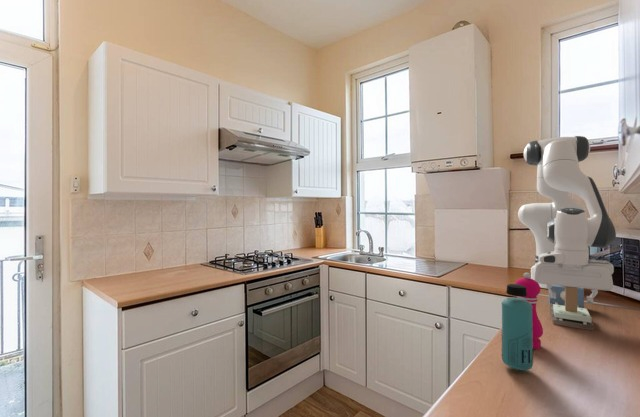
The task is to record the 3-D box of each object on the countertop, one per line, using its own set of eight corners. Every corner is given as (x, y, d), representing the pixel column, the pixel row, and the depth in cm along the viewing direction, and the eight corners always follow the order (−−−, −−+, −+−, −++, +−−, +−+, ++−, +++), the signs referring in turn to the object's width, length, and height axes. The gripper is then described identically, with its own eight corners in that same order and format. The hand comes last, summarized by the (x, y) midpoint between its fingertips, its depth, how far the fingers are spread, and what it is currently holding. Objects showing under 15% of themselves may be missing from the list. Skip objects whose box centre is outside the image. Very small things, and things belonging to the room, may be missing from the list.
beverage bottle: (522, 379, 71) (522, 290, 70) (494, 366, 77) (494, 283, 76) (540, 372, 74) (540, 286, 73) (512, 360, 80) (512, 280, 79)
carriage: (553, 308, 111) (553, 281, 111) (586, 313, 106) (586, 284, 106) (555, 317, 103) (555, 287, 102) (591, 322, 98) (591, 291, 97)
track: (549, 306, 120) (549, 301, 120) (583, 311, 114) (583, 305, 114) (553, 324, 103) (553, 317, 103) (593, 330, 97) (593, 323, 97)
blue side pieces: (548, 302, 125) (548, 282, 124) (581, 307, 119) (581, 285, 119) (549, 307, 119) (549, 285, 119) (584, 311, 114) (584, 289, 114)
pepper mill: (533, 339, 91) (533, 270, 91) (549, 350, 84) (549, 275, 84) (507, 338, 92) (507, 269, 92) (520, 349, 85) (520, 275, 85)
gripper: (611, 259, 101) (611, 302, 101) (533, 254, 112) (533, 293, 112) (616, 262, 96) (615, 308, 96) (534, 256, 107) (534, 297, 107)
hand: (571, 300), depth 104 cm, fingers open, 8 cm apart
